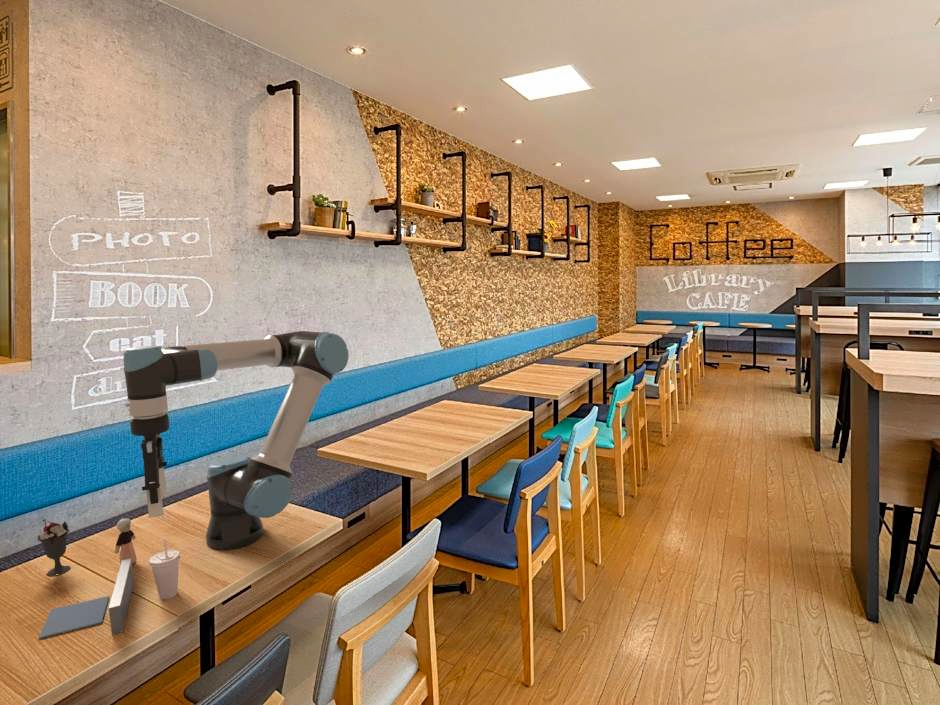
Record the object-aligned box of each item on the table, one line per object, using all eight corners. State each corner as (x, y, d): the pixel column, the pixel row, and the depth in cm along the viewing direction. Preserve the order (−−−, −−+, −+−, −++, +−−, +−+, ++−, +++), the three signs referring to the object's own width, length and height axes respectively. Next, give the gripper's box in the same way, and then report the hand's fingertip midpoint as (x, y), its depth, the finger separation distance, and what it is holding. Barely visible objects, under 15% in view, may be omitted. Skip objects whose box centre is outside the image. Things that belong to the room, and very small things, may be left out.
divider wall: (133, 581, 135) (131, 558, 134) (123, 631, 116) (119, 605, 115) (124, 583, 134) (121, 560, 133) (111, 634, 115) (108, 608, 114)
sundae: (38, 580, 136) (30, 523, 134) (46, 567, 142) (39, 513, 140) (70, 574, 139) (63, 518, 137) (77, 562, 145) (70, 508, 143)
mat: (109, 597, 128) (108, 595, 128) (101, 623, 118) (101, 621, 118) (51, 610, 123) (51, 609, 123) (38, 639, 114) (38, 637, 114)
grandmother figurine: (131, 571, 140) (125, 524, 138) (114, 573, 139) (108, 526, 137) (142, 556, 147) (137, 511, 145) (126, 558, 146) (121, 513, 145)
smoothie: (170, 604, 125) (164, 546, 123) (146, 601, 126) (139, 544, 124) (189, 588, 131) (184, 533, 129) (166, 586, 133) (160, 531, 131)
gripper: (135, 405, 132) (144, 489, 135) (122, 430, 110) (133, 530, 113) (170, 402, 136) (178, 484, 138) (165, 425, 113) (174, 522, 116)
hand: (158, 505), depth 126 cm, fingers open, 13 cm apart
